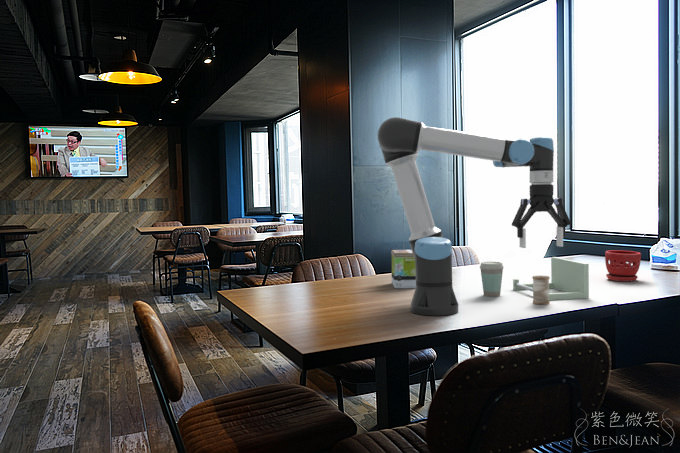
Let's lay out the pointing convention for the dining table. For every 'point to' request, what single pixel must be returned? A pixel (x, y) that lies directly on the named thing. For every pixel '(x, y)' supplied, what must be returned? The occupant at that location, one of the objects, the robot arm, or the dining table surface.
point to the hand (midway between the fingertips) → (541, 247)
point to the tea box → (403, 269)
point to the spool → (541, 290)
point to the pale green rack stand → (564, 279)
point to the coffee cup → (491, 278)
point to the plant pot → (622, 265)
